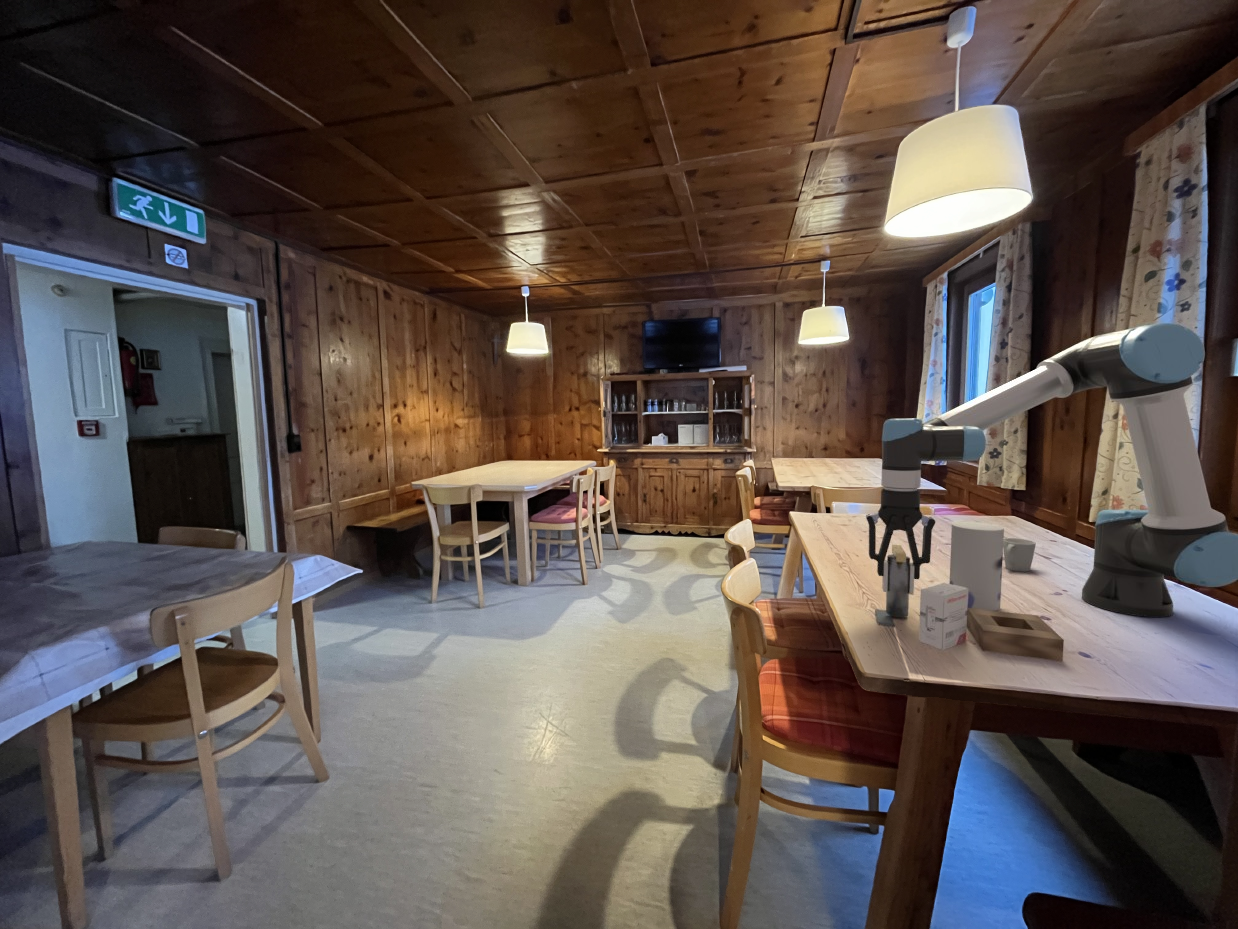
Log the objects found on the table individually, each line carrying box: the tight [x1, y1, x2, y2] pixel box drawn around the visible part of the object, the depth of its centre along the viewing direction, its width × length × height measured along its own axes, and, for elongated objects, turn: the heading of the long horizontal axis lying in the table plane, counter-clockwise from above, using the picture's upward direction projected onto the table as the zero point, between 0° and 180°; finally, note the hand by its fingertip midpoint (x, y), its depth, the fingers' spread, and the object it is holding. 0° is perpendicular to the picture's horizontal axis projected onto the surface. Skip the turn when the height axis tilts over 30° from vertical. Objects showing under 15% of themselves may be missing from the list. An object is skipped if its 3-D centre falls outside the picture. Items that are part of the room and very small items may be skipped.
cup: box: [1003, 537, 1036, 573], centre depth 145 cm, size 8×10×8 cm
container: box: [949, 520, 1005, 611], centre depth 117 cm, size 10×10×20 cm
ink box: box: [918, 582, 968, 651], centre depth 98 cm, size 9×5×12 cm, turn 118°
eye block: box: [967, 608, 1065, 662], centre depth 97 cm, size 12×12×5 cm
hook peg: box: [885, 544, 911, 618], centre depth 110 cm, size 8×4×15 cm, turn 157°
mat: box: [874, 608, 896, 628], centre depth 111 cm, size 8×8×1 cm
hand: (897, 591), depth 110 cm, fingers closed on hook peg, 4 cm apart
